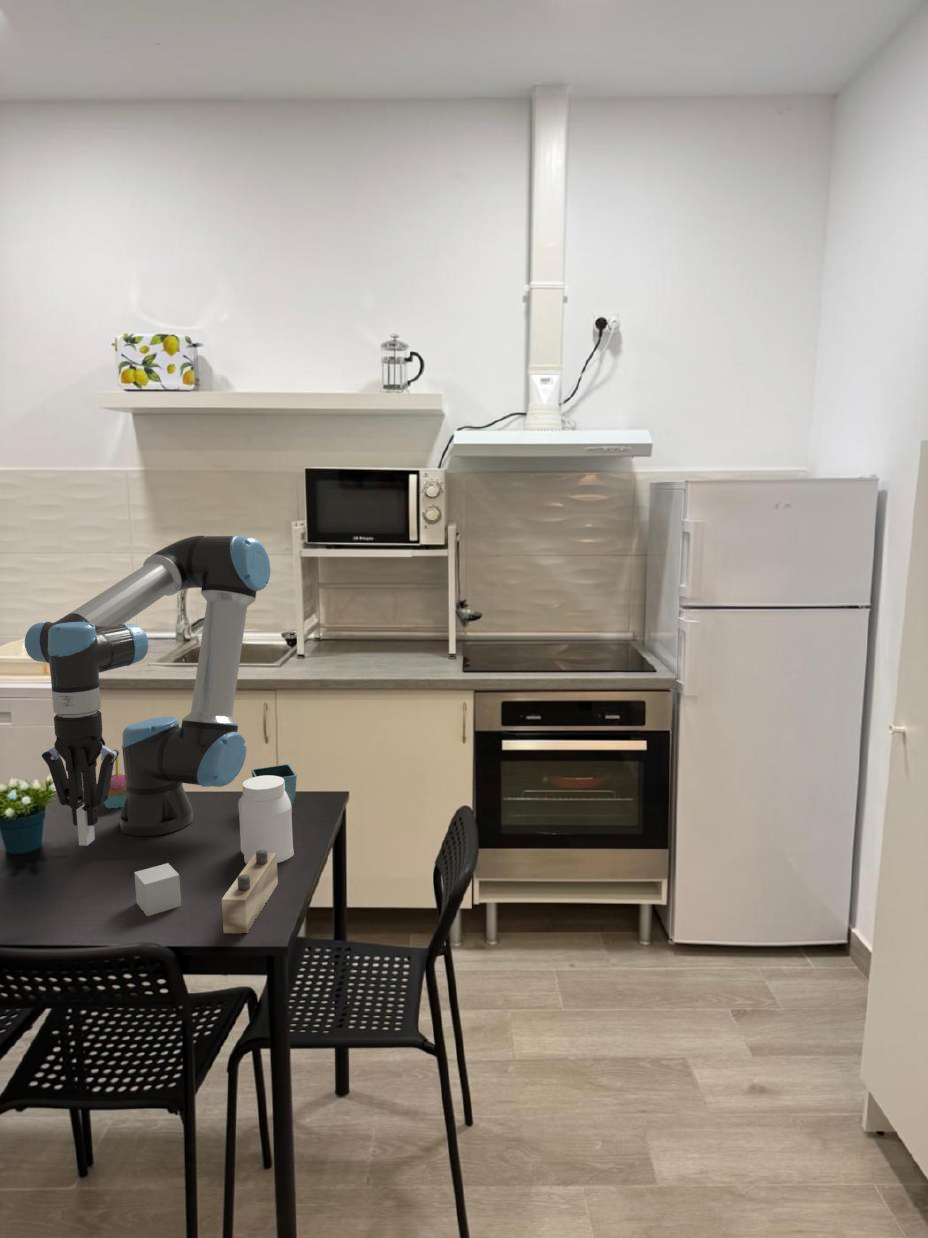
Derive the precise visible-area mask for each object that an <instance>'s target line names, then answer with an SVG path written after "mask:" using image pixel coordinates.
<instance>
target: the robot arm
mask: <svg viewBox="0 0 928 1238" xmlns="http://www.w3.org/2000/svg"><path fill="white" fill-rule="evenodd" d="M270 577H271V561H270V558H269V555H268V553H267V550H266V548H265V547H264V545H263V543H261V542H260V541H259V540H258V539H257V538H254V537H251V536H241V535H219V536H215V535H211V536H210V535H194V536H189V537H187V538H186V537H185V538H183V539H180V540H178V541H176V542H174V543H171V544H169V545H167V546H165V547H163V548H161V549H160V550H158V551H157V552H155V553H153V554H151V555H150V556H148V557H147V558H146V559H145V560H144V562H143V565H142V566H141V567H139V568H138V569H137V570H136V571H133V572H132V573H130V574H129V575H128V576H126V577H124V578H123V579H121V580H120V581H118V582H117V583H115V584H113V585H112V586H110V587H109V588H107V589H106V590H104V591H102V592H101V593H99V594H98V595H96V596H94V597H93V598H91V599H90V600H88V601H87V602H85V603H84V604H82V605H80V606H79V607H77V608H76V609H74V610H73V611H71V612H69V613H68V614H67V615H65V616H63V617H61V618H59V619H58V620H56V621H54V622H52V621H44V622H38V623H34V624H33V625H32V626H30V628H29V629H28V630H27V632H26V634H25V636H24V637H25V638H24V648H25V651H26V652H27V655H28V656H29V657H30V658H31V659H32V660H33V661H35V662H36V661H37V662H41V663H47V664H49V672H50V673H49V674H50V681H51V682H50V683H51V696H52V697H51V698H52V709H53V712H54V714H55V716H54V717H53V725H54V736H55V737H56V739H55V742H54V744H53V745H54V747H52V748H49V749H48V750H46V751H45V752H43V753H42V754H41V758H42V759H43V760H44V761H45V763H46V765H47V766H48V769H49V772H50V776H51V779H52V781H53V782H52V783H53V785H54V789H55V792H56V794H57V797H58V801H59V804H60V805H61V806H68V807H69V808H71V815H72V824H73V826H77V837H78V838H77V839H78V846H89V845H90V844H91V843H93V841H94V840H96V837H95V825H96V824H97V823H98V822H99V818H98V814H99V813H98V807H99V806H101V805H102V804H104V802H105V801H106V800H107V799H108V793H109V788H110V782H111V776H112V775H113V770H114V765H115V760H116V758H117V757H118V758H119V754H120V752H119V750H117V749H114V750H112V749H111V748H109V747H107V746H106V742H105V739H104V738H103V721H102V720H103V719H102V712H101V711H100V709H101V708H102V704H101V703H102V701H101V693H100V692H101V691H100V673H102V672H103V673H104V672H107V671H111V670H114V669H119V668H122V667H123V668H124V667H130V666H132V665H133V664H135V663H139V662H141V661H142V660H143V659H144V658H145V657H146V656H147V654H148V652H149V638H148V636H147V633H146V632H145V631H144V629H143V628H142V627H141V626H139V625H137V624H134V623H127V622H129V621H130V620H131V619H133V618H134V617H136V616H137V615H139V614H140V613H142V612H143V611H144V610H146V609H147V608H149V607H150V606H152V605H153V604H155V603H156V602H157V601H159V600H160V599H162V598H164V596H167V597H168V596H174V595H175V594H177V593H179V592H180V591H183V590H185V589H198V588H200V595H202V597H203V598H204V599H205V601H206V605H205V606H206V607H205V612H204V619H203V627H202V634H201V639H200V649H199V655H198V662H197V668H196V669H197V670H196V674H195V675H196V676H195V681H194V682H195V683H194V687H193V695H192V703H191V709H190V712H189V713H188V714H187V715H186V716H184V717H183V718H182V719H181V725H180V722H179V720H178V718H177V717H175V716H163V717H162V716H161V717H154V718H150V719H145V720H141V721H138V722H135V723H132V724H129V725H128V726H127V727H125V729H124V730H123V732H122V745H121V750H122V758H123V767H124V769H123V770H124V775H125V781H126V797H125V800H124V804H123V807H121V812H120V816H119V827H120V828H119V829H120V831H121V832H123V833H124V834H125V835H130V836H135V837H152V836H153V837H154V836H160V835H161V836H162V835H165V834H170V833H173V832H177V831H179V830H181V829H183V828H185V827H187V826H189V825H190V824H191V823H192V822H193V819H194V816H193V815H194V814H193V813H194V812H193V807H192V804H191V803H190V800H189V797H188V795H187V793H186V789H185V788H184V786H183V784H188V785H195V786H201V787H203V788H206V787H208V788H209V787H216V788H221V787H224V786H227V785H229V784H231V783H232V782H233V781H235V778H236V777H238V775H239V774H240V772H241V771H242V768H243V766H244V763H245V761H246V756H247V745H246V741H245V738H244V736H243V735H241V734H240V733H239V732H238V729H239V724H238V722H237V721H236V719H235V718H234V716H233V712H234V705H235V698H236V693H237V692H236V690H237V684H238V676H239V670H240V668H239V667H240V662H241V661H240V660H241V655H242V647H243V641H244V640H243V639H244V632H245V626H246V620H247V619H246V618H247V611H248V607H249V606H250V605H252V604H253V603H255V602H256V598H257V592H260V591H262V590H264V589H265V588H266V587H267V584H268V583H269V581H270ZM125 623H126V624H125ZM180 726H181V727H180ZM100 755H101V757H100ZM99 757H100V760H101V761H102V762H101V764H100V767H99V772H98V773H99V774H98V778H97V769H96V768H97V766H98V765H97V761H98V758H99ZM63 761H64V762H65V764H64V762H63Z"/></svg>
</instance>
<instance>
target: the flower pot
mask: <svg viewBox="0 0 928 1238" xmlns="http://www.w3.org/2000/svg"><path fill="white" fill-rule="evenodd" d="M265 775H272V776H279V777H281V778H283V779H284V781H285V792H286V793H287V795H288V797H289V800H290V802H291V807H292V806H293V803H294V801H295V798H296V793H297V791H296V790H297V778H298V777H297V774H296V772H295V771H294V769H293V768H292V767H291V765H290V764H288V763H286V764H279V765H272V766H266V767H259V768H254V769H251V776H252V777H251V778H253V777H257V776H265Z"/></svg>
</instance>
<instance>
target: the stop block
mask: <svg viewBox="0 0 928 1238" xmlns="http://www.w3.org/2000/svg"><path fill="white" fill-rule="evenodd" d="M278 878H279V877H278V863H277V854H276V853H267V851H266V850H258V851H257V852H256V853H255V854H254V855H253V857H252V858H251V859H250V861H249V862H248V864H246V865H245V866H244V868H243V869H242V870H241V871H240V873H239V874H238V876H237V877H236V879H235V880H234V882H233V883H232V884H231V886H230V887H229V889H228V890H227V891H226V892H225V894H224V896H223V897H222V898H221V909H222V910H221V912H222V913H221V914H222V929H223V934H241V933H247V934H248V933H249V931H250V930H251V928H252V926H253V925H254V923H255V922H254V921H256V920H257V919H258V917H259V915H260V913H261V912H262V910H263V909H264V907H265V905H266V904H267V902H268V900H269V899H270V897H271V895H272V894H273V892H274V891H275V889H276V887H277V885H279V879H278ZM265 903H266V904H265ZM260 911H261V912H260ZM255 919H256V920H255ZM249 929H250V930H249Z"/></svg>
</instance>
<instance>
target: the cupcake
mask: <svg viewBox="0 0 928 1238" xmlns="http://www.w3.org/2000/svg"><path fill="white" fill-rule="evenodd" d="M114 764H115V774H112V776H111V782H110V788H109V793H108V799H107V800H106V801H105V802H104V803H103V804H104V806H105V807H106V808H107V809H111V808H115V809H120V808H123V804H124V800H125V797H126V781H125V774H121V773H120V771H119V769H120V768H119V756H118V757H117V758H116V760H115V761H114ZM119 807H120V808H119Z"/></svg>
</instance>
